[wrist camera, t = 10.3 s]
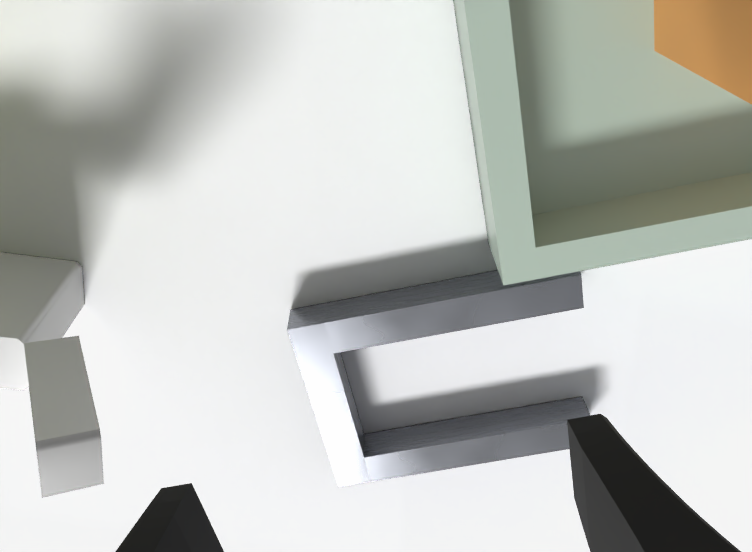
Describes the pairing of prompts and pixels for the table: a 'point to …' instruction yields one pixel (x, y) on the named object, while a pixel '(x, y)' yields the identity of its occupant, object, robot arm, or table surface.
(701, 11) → the pin
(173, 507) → the robot arm
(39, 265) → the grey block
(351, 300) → the frame
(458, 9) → the tray
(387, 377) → the table surface
